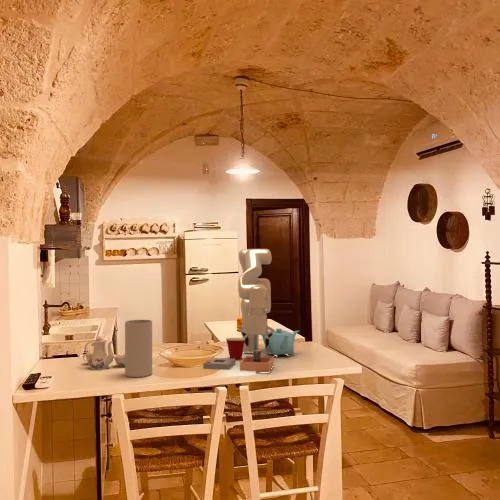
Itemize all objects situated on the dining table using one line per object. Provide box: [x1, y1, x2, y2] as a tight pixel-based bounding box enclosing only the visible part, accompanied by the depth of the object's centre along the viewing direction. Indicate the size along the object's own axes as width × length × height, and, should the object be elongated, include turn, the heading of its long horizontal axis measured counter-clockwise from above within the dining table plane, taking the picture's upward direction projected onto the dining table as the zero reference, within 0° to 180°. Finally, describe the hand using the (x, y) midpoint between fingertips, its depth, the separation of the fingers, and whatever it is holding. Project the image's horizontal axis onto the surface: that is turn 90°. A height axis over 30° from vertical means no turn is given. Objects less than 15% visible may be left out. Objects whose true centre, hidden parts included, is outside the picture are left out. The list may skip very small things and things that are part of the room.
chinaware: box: [82, 335, 125, 371], centre depth 246 cm, size 28×17×17 cm, turn 76°
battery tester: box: [202, 357, 236, 371], centre depth 241 cm, size 13×13×4 cm
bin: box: [239, 355, 275, 372], centre depth 237 cm, size 14×14×5 cm
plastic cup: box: [225, 337, 245, 361], centre depth 258 cm, size 11×11×12 cm
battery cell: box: [252, 350, 262, 362], centre depth 237 cm, size 4×4×9 cm
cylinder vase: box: [124, 319, 153, 378], centre depth 228 cm, size 12×12×25 cm
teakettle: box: [261, 328, 300, 356], centre depth 272 cm, size 19×19×15 cm
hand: (257, 346), depth 238 cm, fingers open, 9 cm apart
